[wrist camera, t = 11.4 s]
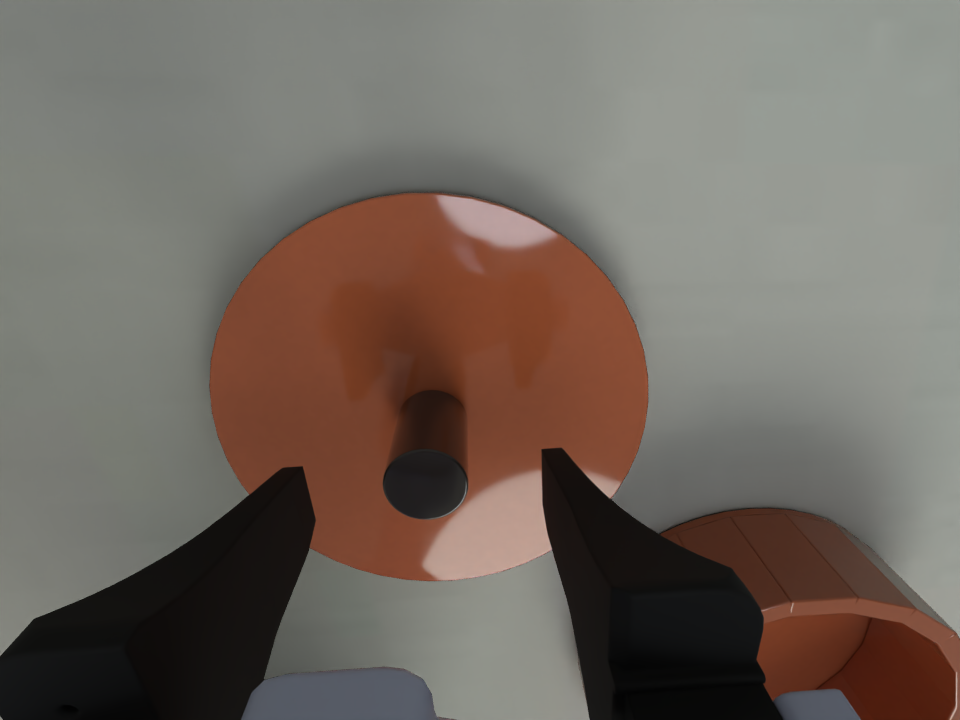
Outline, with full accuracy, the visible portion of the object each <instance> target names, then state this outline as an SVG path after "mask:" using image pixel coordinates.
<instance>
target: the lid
mask: <svg viewBox="0 0 960 720" xmlns="http://www.w3.org/2000/svg"><path fill="white" fill-rule="evenodd" d="M209 387H210V397H211V407H212V414H213V418H214V422H215V427H216V431H217V435H218V438H219V440H220V443H221V445H222V448H223V450H224V453H225V455H226V458H227V460H228V462H229V464H230V466H231V467H232V469H233V471H234V473H235V474H236V476H237V478H238V480H239V481H240V483H241V484H242V486H243V487H244V488H245V490H246V491H247V492H248V494H249V495H250V494H251V493H252V492H253V491H255V490H256V489H257V488H258V487H259V486H260V485H262V484H263V483H264V482H265V481H266V480H268V479H269V478H270V477H271V476H272V475H274V474H275V473H276V472H277V471H279V470H280V469H281V468H283V467H297V466H303V469H304V473H305V477H306V481H307V485H308V489H309V493H310V498H311V502H312V506H313V510H314V514H315V518H316V523H315V527H314V531H313V536H312V540H311V544H310V548H311V549H313V550H315V551H317V552H319V553H321V554H323V555H325V556H327V557H329V558H331V559H333V560H335V561H337V562H340V563H342V564H345V565H348V566H350V567H353V568H356V569H359V570H362V571H366V572H370V573H373V574H377V575H381V576H387V577H393V578H399V579H405V580H419V581H452V580H461V579H468V578H476V577H481V576H485V575H490V574H494V573H498V572H502V571H505V570H508V569H511V568H514V567H517V566H519V565H522V564H525V563H527V562H529V561H531V560H533V559H536V558H538V557H540V556H542V555H544V554H546V553H548V552H549V551H551V550H552V548H551V544H550V541H549V537H548V534H547V528H546V522H545V516H544V510H543V504H542V458H541V449H547V448H561V447H562V448H563V449H564V450H565V451H566V452H567V454H568V455H569V456H570V457H571V459H572V460H573V461H574V462H575V463H576V464H577V466H578V467H579V468H580V469H581V470H582V471H583V472H584V473H585V474H586V476H587V477H588V478H589V479H590V480H591V481H592V482H593V483H594V484H595V485H596V486H597V487H598V488H599V489H600V490H601V491H602V492H603V493H604V494H605V495H607V496H608V497H609V498H610V499H611V498H612V497H613V496H614V494H615V493H616V492H617V490H618V488H619V487H620V485H621V483H622V482H623V480H624V479H625V477H626V475H627V474H628V472H629V470H630V467H631V465H632V463H633V461H634V458H635V456H636V454H637V452H638V449H639V445H640V442H641V438H642V435H643V431H644V428H645V422H646V414H647V407H648V374H647V367H646V361H645V355H644V350H643V347H642V343H641V340H640V337H639V334H638V331H637V328H636V325H635V323H634V321H633V319H632V317H631V315H630V313H629V311H628V308H627V306H626V304H625V302H624V300H623V299H622V297H621V296H620V295H619V293H618V292H617V290H616V289H615V287H614V286H613V284H612V283H611V281H610V280H609V279H608V277H607V276H606V275H605V274H604V273H603V272H602V271H601V269H600V268H599V267H598V266H597V265H596V264H595V263H594V262H593V261H592V260H591V259H590V258H589V257H588V256H587V254H585V253H584V252H583V251H582V250H581V249H579V248H578V247H577V246H576V245H574V244H573V243H572V242H571V241H569V240H568V239H567V238H566V237H564V236H563V235H562V234H561V233H559V232H557V231H556V230H554V229H552V228H551V227H549V226H547V225H546V224H544V223H542V222H541V221H539V220H537V219H536V218H534V217H532V216H529V215H527V214H525V213H522V212H520V211H518V210H515V209H513V208H511V207H508V206H506V205H503V204H500V203H496V202H492V201H488V200H485V199H481V198H477V197H473V196H467V195H459V194H452V193H444V192H404V193H398V194H391V195H384V196H378V197H372V198H369V199H365V200H362V201H359V202H355V203H352V204H349V205H345V206H342V207H340V208H337V209H335V210H333V211H331V212H329V213H327V214H325V215H322V216H320V217H318V218H316V219H314V220H312V221H310V222H308V223H306V224H305V225H303V226H302V227H300V228H299V229H297V230H296V231H294V232H293V233H291V234H290V235H288V236H287V237H285V238H284V239H282V240H281V241H280V242H279V243H278V244H277V245H276V246H274V247H273V248H272V249H271V250H270V251H269V252H268V253H267V254H266V255H264V256H263V257H262V258H261V259H260V260H259V261H258V263H257V264H256V265H255V266H254V267H253V269H252V270H251V271H250V272H249V274H248V275H247V276H246V277H245V278H244V280H243V281H242V282H241V284H240V285H239V287H238V289H237V291H236V292H235V294H234V296H233V297H232V299H231V301H230V303H229V304H228V306H227V308H226V311H225V313H224V316H223V318H222V321H221V323H220V326H219V329H218V331H217V334H216V339H215V343H214V348H213V353H212V357H211V369H210V386H209Z"/></svg>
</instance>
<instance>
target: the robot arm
mask: <svg viewBox="0 0 960 720" xmlns="http://www.w3.org/2000/svg"><path fill="white" fill-rule="evenodd" d="M541 458H542V504H543V510H544V516H545V522H546V528H547V534H548V537H549V541H550V544H551V548H552V551H553V554H554V558H555V561H556V564H557V568H558V571H559V575H560V578H561V581H562V585H563V588H564V591H565V595H566V598H567V602H568V606H569V610H570V614H571V619H572V624H573V629H574V635H575V640H576V645H577V650H578V656H579V661H580V667H581V672H582V678H583V683H584V689H585V695H586V700H587V706H588V712H589V718H590V720H861V719H860V717H859V716H858V715H857V713H856V712H855V710H854V709H853V707H852V706H851V704H850V703H849V702H848V700H847V699H846V697H845V696H844V694H843V693H842V691H840V690H838V689H823V690H809V691H795V692H788V693H783V694H781V695H779V696H778V697H776V698H775V699H774V701H772V699H771V697H770V695H769V694H768V692H767V690H766V688H765V686H764V685H763V684H765V682H766V677H765V674H764V672H763V670H762V669H761V667H760V665H759V663H758V662H757V656H758V651H759V647H760V642H761V638H762V633H763V629H764V617H763V614H762V611H761V609H760V607H759V605H758V603H757V602H756V600H755V599H754V597H753V596H752V594H751V593H750V591H749V590H748V588H747V587H746V586H745V584H744V583H743V582H742V581H741V579H740V578H739V577H738V576H737V574H736V573H735V572H734V570H733V569H732V568H730V567H728V566H725V565H723V564H720V563H718V562H715V561H713V560H711V559H708V558H706V557H703V556H701V555H698V554H696V553H694V552H692V551H690V550H688V549H686V548H684V547H682V546H680V545H678V544H676V543H674V542H672V541H670V540H668V539H666V538H665V537H663V536H661V535H660V534H658V533H656V532H655V531H653V530H651V529H650V528H648V527H647V526H645V525H644V524H642V523H641V522H639V521H638V520H636V519H635V518H634V517H632V516H631V515H629V514H628V513H627V512H625V511H624V510H623V509H621V508H620V507H619V506H618V505H617V504H616V503H614V502H613V501H612V500H611V499H610V498H609V497H608V496H607V495H605V494H604V493H603V492H602V491H601V490H600V489H599V488H598V487H597V486H596V485H595V484H594V483H593V482H592V481H591V480H590V479H589V478H588V477H587V476H586V474H585V473H584V472H583V471H582V470H581V469H580V468H579V467H578V466H577V464H576V463H575V462H574V461H573V460H572V459H571V457H570V456H569V455H568V454H567V452H566V451H565V450H564V449H563V448H562V447H561V448H547V449H541ZM315 523H316V518H315V514H314V510H313V506H312V502H311V498H310V493H309V489H308V485H307V481H306V477H305V473H304V469H303V466H297V467H283V468H281V469H280V470H279V471H277V472H276V473H275V474H274V475H272V476H271V477H270V478H269V479H268V480H266V481H265V482H264V483H263V484H262V485H260V486H259V487H258V488H257V489H256V490H255V491H253V492H252V493H251V494H250V495H249V496H247V497H246V498H245V499H244V500H243V501H241V502H240V503H239V504H238V505H237V506H235V507H234V508H233V509H232V510H230V511H229V512H228V513H227V514H225V515H224V516H223V517H221V518H220V519H219V520H217V521H216V522H215V523H214V524H212V525H211V526H210V527H208V528H207V529H206V530H204V531H203V532H202V533H200V534H199V535H197V536H196V537H194V538H193V539H192V540H190V541H189V542H187V543H186V544H184V545H182V546H181V547H179V548H178V549H176V550H175V551H173V552H172V553H170V554H168V555H167V556H165V557H163V558H162V559H160V560H158V561H156V562H155V563H153V564H151V565H149V566H147V567H146V568H144V569H142V570H140V571H139V572H137V573H135V574H133V575H131V576H130V577H128V578H126V579H124V580H122V581H120V582H118V583H116V584H114V585H112V586H110V587H108V588H105V589H103V590H101V591H99V592H97V593H95V594H93V595H91V596H88V597H86V598H84V599H82V600H79V601H77V602H74V603H72V604H70V605H67V606H65V607H62V608H60V609H57V610H55V611H53V612H50V613H48V614H45V615H43V616H40V617H37V618H35V619H33V621H32V622H31V623H30V624H29V625H28V626H27V627H26V628H25V629H24V631H23V632H22V633H21V634H20V635H19V636H18V637H17V638H16V639H15V641H14V642H13V643H12V644H11V645H10V646H9V647H8V648H7V649H6V650H5V652H4V653H3V654H2V655H1V656H0V716H1V717H2V719H3V720H455V719H448V718H442V717H437V716H436V713H435V711H434V705H433V699H432V694H431V692H430V690H429V688H428V687H427V685H426V683H425V682H424V680H423V679H422V678H420V677H419V676H417V675H415V674H413V673H411V672H409V671H407V670H405V669H401V668H391V667H373V668H360V669H346V670H332V671H318V672H305V673H291V674H284V675H281V676H277V677H273V678H270V679H267V680H264V676H265V673H266V669H267V665H268V662H269V658H270V655H271V651H272V648H273V644H274V640H275V637H276V634H277V631H278V628H279V625H280V622H281V620H282V617H283V615H284V612H285V610H286V607H287V605H288V602H289V600H290V597H291V595H292V592H293V590H294V587H295V585H296V582H297V580H298V577H299V575H300V572H301V569H302V567H303V564H304V562H305V559H306V557H307V554H308V551H309V547H310V544H311V540H312V536H313V531H314V527H315ZM263 680H264V681H263Z"/></svg>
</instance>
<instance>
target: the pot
mask: <svg viewBox="0 0 960 720" xmlns="http://www.w3.org/2000/svg"><path fill="white" fill-rule="evenodd" d="M660 535H661V536H663V537H665V538H666V539H668V540H670V541H672V542H674V543H676V544H678V545H680V546H682V547H684V548H686V549H688V550H690V551H692V552H694V553H696V554H698V555H701V556H703V557H706V558H708V559H711V560H713V561H715V562H718V563H720V564H723V565H725V566H728V567H730V568H732V569H733V570H734V572H735V573H736V574H737V576H738V577H739V578H740V579H741V581H742V582H743V583H744V584H745V586H746V587H747V588H748V590H749V591H750V593H751V594H752V596H753V597H754V599H755V600H756V602H757V603H758V605H759V607H760V609H761V611H762V614H763V617H764V629H763V633H762V638H761V642H760V647H759V651H758V656H757V662H758V663H759V665H760V667H761V669H762V670H763V672H764V674H765V677H766V682H765V684H763V685H764V686H765V688H766V690H767V692H768V694H769V695H770V697H771V699H772V701H774V699H775V698H776V697H778V696H779V695H781V694H783V693H788V692H795V691H809V690H823V689H838V690H840V691H842V693H843V694H844V696H845V697H846V699H847V700H848V702H849V703H850V704H851V706H852V707H853V709H854V710H855V712H856V713H857V715H858V716H859V717H860V719H861V720H960V638H959V636H958V635H957V633H956V632H955V631H954V630H953V629H952V628H951V627H950V626H949V625H948V624H947V623H946V622H945V621H944V620H943V619H942V618H941V617H940V616H939V615H938V614H937V613H936V612H935V611H934V610H933V609H932V608H931V607H930V606H929V605H928V604H927V603H926V602H925V601H924V600H923V599H922V598H921V597H920V596H919V595H918V594H917V593H916V592H915V591H914V590H913V589H912V588H911V587H910V586H909V585H908V584H907V583H906V582H905V581H903V580H902V579H901V578H900V577H899V576H898V575H897V574H896V573H895V572H894V571H893V570H892V569H891V568H890V567H889V566H888V565H887V564H886V563H885V562H884V561H883V560H882V559H881V558H880V557H879V556H878V555H877V554H876V553H875V552H874V551H873V550H872V549H871V548H870V547H869V546H868V545H866V544H865V543H863V542H861V541H860V540H859V539H858V538H857V537H855V536H854V535H853V534H851V533H850V532H849V531H847V530H846V529H845V528H843V527H841V526H839V525H837V524H835V523H833V522H831V521H829V520H827V519H824V518H821V517H818V516H815V515H812V514H808V513H804V512H799V511H794V510H786V509H774V508H759V509H742V510H735V511H727V512H722V513H718V514H714V515H709V516H705V517H701V518H698V519H696V520H693V521H690V522H687V523H684V524H681V525H679V526H676V527H674V528H672V529H670V530H668V531H665V532H663V533H661V534H660ZM578 665H579V670H580V674H581V679H582V683H583V678H582V672H581V667H580V661H579V656H578ZM583 688H584V683H583ZM584 692H585V689H584ZM585 697H586V695H585ZM586 701H587V700H586Z"/></svg>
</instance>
